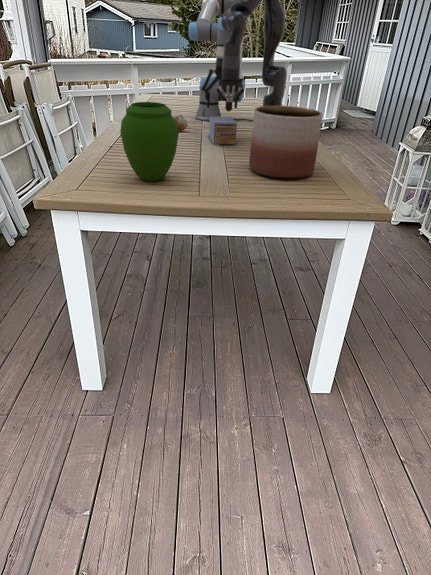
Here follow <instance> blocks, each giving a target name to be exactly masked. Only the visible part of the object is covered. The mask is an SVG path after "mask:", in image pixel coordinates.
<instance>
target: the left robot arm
mask: <svg viewBox="0 0 431 575" xmlns="http://www.w3.org/2000/svg"><path fill="white" fill-rule="evenodd" d="M237 1H239V0H202V2H201V6H200V7H201V10H200V12H199V15H198V16H197V20H196V21H190V22H189V23H188V38H189V40H190V41H194V42H195V41H196V42H210V43H211V42H212V43H216V52H215V54H216V58H215V69H212V68H209V69H208V74H207V76H203V77H202V78H200V80H199V86H198V87H199V100H198V101H199V103H198V104H199V105H198V107H197V111H196V114H195V119H196V120H199V121H202V122H203V121H204V122H210V116H212V117H222V114H221V110H220V107H219V105H220V103H219V102H224V101H223V100H222V99H221V97H220V95H219V94H218V92H217V91H216V87H219V86H220V83H221V81H222V64H223V55H224V42H225V40H226V39H229V38H230V37H231V34H232V32H228V31H225V30H224V29H223V28H222V25H221V20H222V16H223V14H224V13H225V12H226V10H227V9H229V8H230V7H231V6H232V5H233V4H235V3H236V2H237ZM216 16H219V17H218V19H217V22H214V21H215V19H216ZM250 17H251V15H249V16H247V17H246V23H247V21H248V18H250ZM243 49H244V38H243V39H242V42H241V48H240V74H239V83H240V87H241V88H243V89H244V90H245V88H246V80H244V75H243V74H242V66H243V64H242V63H243ZM214 74H215V75H214ZM221 90H222V91H221V93H222V94H223V96H224V97H225V98H226V96H225V92H224V91H223V89H222V88H221ZM237 93H238V89H237V91H236V92H235V93H234V97H235V95H236V94H237ZM244 93H245V91H244V92H243V93H242V94H241V96H240V97H239V98H238V99H237V101H234V102H233V103H234V106H233V107H234V109H238V103H240V102H242V101H243V97H244ZM234 97H233V98H234ZM229 98H230V93H229ZM232 119H233V120H234V121H248V122H253V120H254V119H249V118H232Z"/></svg>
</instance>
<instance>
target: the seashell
mask: <svg viewBox="0 0 431 575" xmlns="http://www.w3.org/2000/svg"><path fill="white" fill-rule="evenodd" d="M173 118H174V119H175V120H176V123H177V128H178V132H182V131H184V130H186V129H187V128H188V127H189V123H188V121H187V119H185V117H184V116H183V115H182V114H178V115H175V116H173Z"/></svg>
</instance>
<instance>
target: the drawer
mask: <svg viewBox="0 0 431 575" xmlns="http://www.w3.org/2000/svg"><path fill="white" fill-rule="evenodd" d="M237 126H238V125H237ZM237 126H233V125H216V144H215V145H236V143H237V142H236V141H237Z"/></svg>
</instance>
